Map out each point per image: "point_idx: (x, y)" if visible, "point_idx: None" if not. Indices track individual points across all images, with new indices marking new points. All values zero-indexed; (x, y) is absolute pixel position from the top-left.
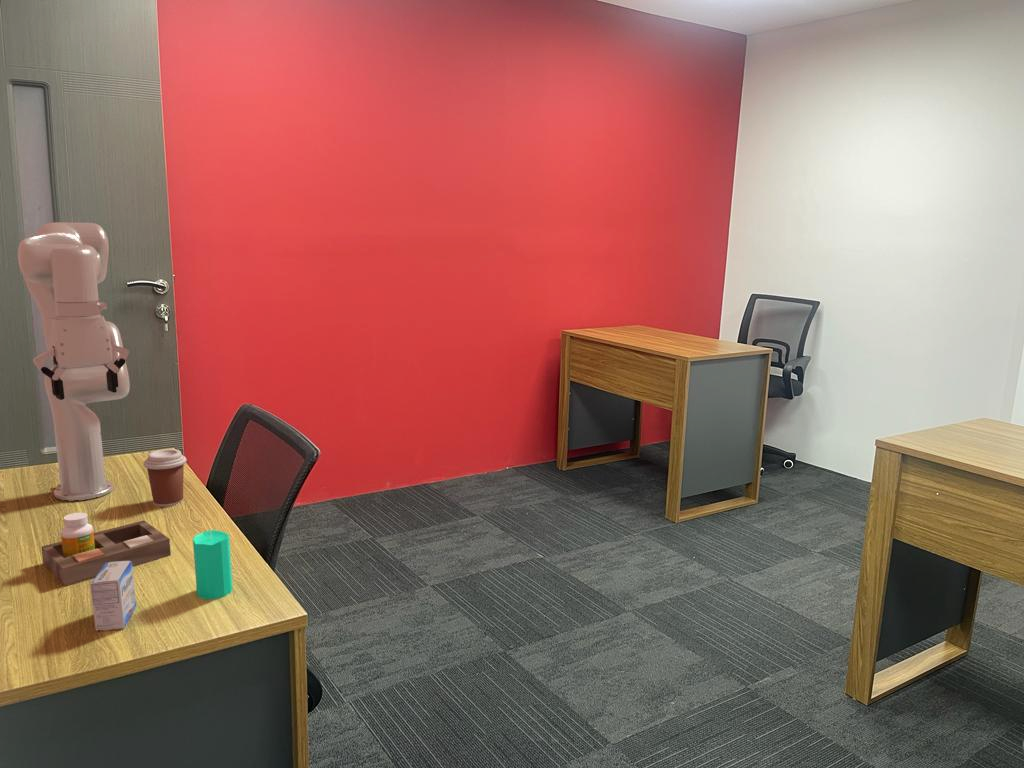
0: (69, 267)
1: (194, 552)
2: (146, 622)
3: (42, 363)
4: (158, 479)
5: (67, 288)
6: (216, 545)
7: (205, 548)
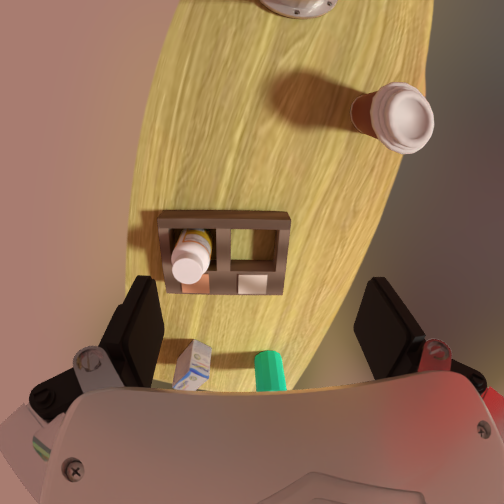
0: None
1: (257, 387)
2: None
3: (46, 448)
4: (371, 130)
5: None
6: None
7: None
